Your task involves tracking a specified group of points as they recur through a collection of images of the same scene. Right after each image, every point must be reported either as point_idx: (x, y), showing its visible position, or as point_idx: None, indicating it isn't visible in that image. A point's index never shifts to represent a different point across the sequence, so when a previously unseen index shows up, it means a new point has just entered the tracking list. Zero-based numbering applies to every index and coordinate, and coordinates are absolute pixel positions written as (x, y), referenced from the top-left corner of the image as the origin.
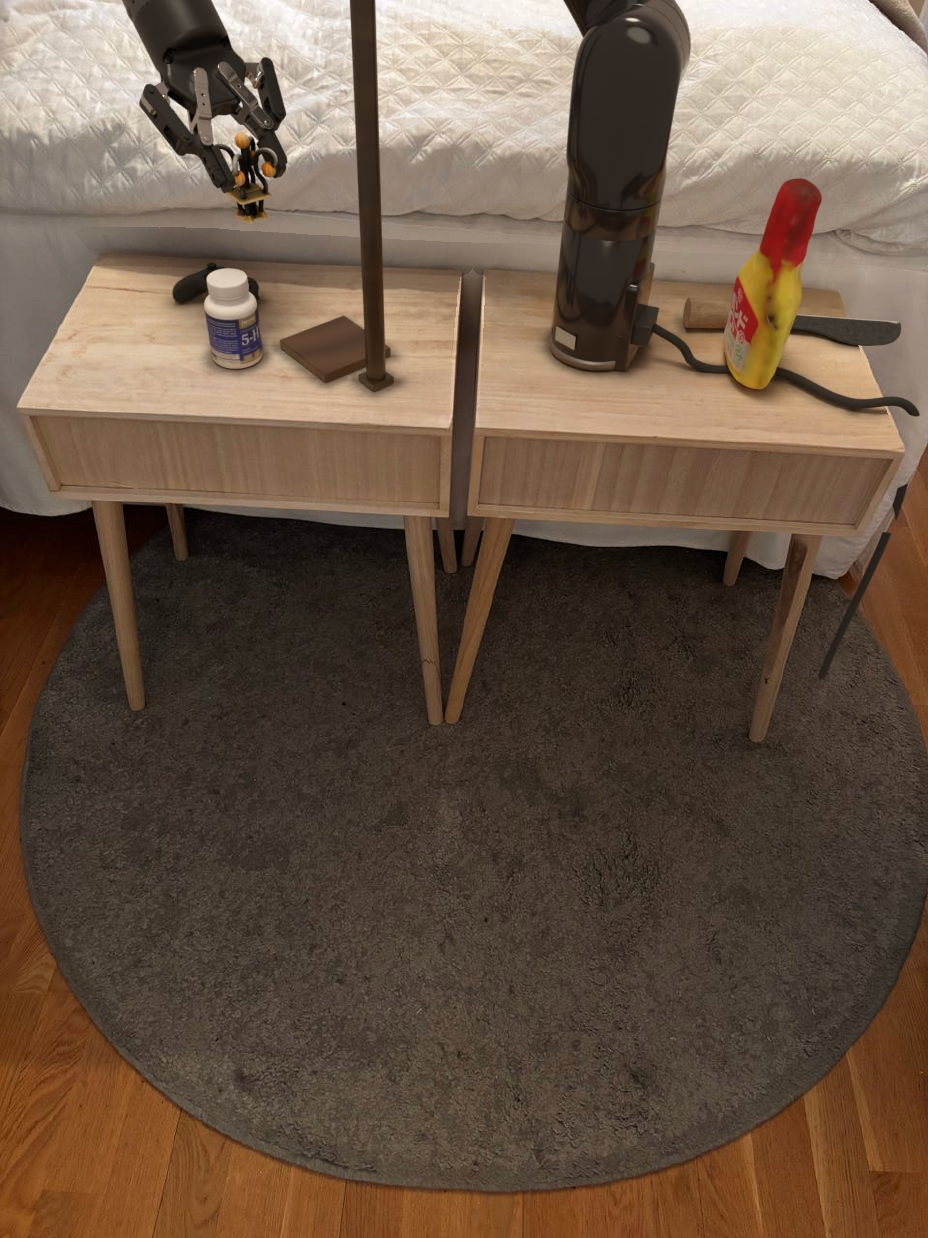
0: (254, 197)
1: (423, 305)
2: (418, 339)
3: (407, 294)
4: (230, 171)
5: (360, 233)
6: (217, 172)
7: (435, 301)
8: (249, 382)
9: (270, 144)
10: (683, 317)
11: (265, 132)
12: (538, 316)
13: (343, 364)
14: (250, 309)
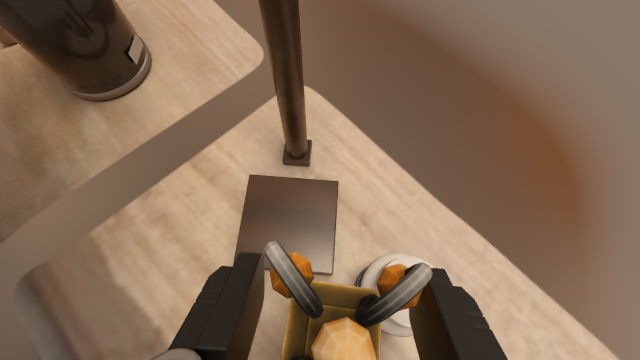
0: (341, 290)
1: (137, 232)
2: (204, 182)
3: (125, 267)
4: (430, 286)
5: (297, 21)
6: (470, 310)
7: (119, 229)
8: (401, 240)
9: (238, 304)
10: (9, 41)
11: (217, 347)
12: (82, 132)
13: (310, 183)
14: (388, 254)
